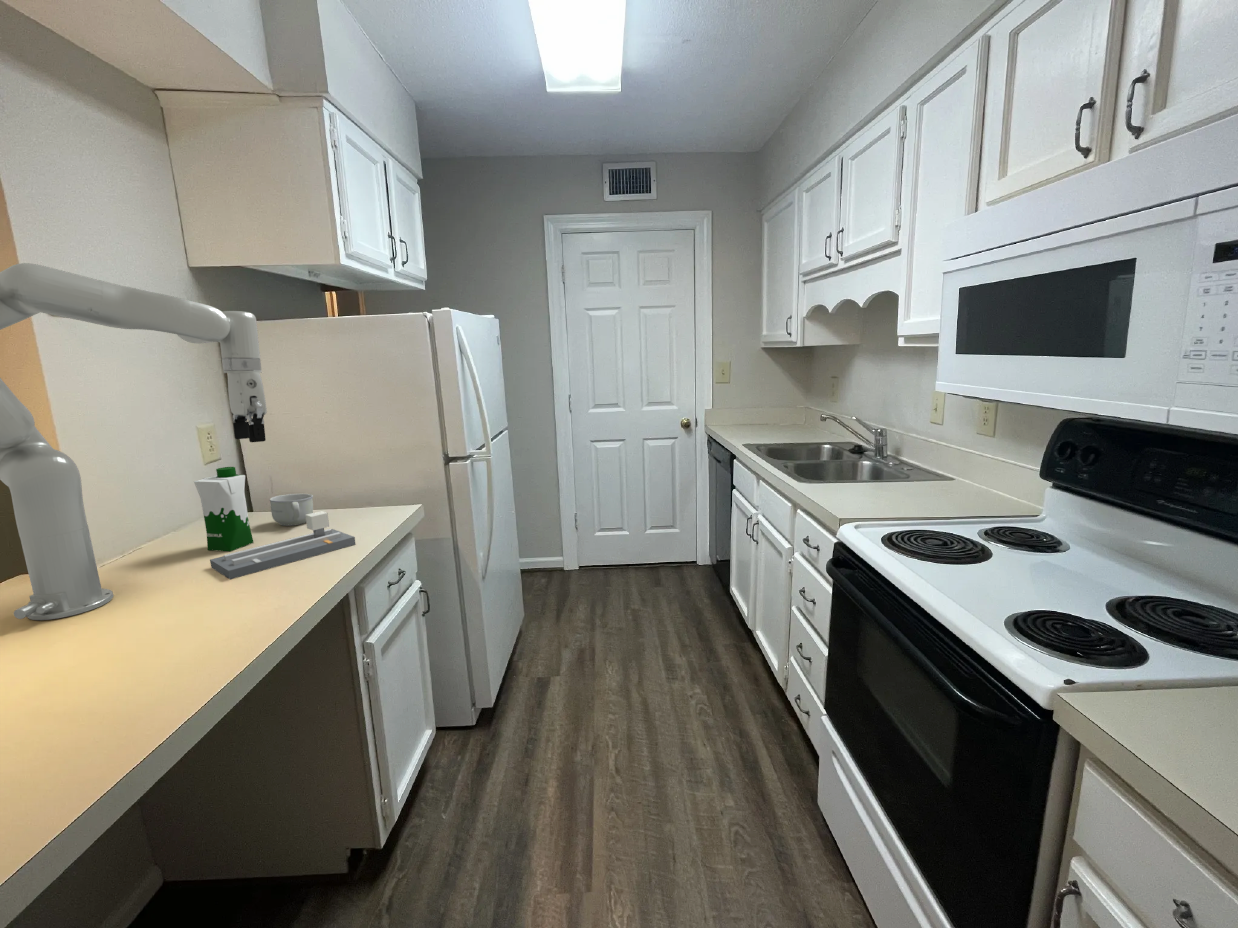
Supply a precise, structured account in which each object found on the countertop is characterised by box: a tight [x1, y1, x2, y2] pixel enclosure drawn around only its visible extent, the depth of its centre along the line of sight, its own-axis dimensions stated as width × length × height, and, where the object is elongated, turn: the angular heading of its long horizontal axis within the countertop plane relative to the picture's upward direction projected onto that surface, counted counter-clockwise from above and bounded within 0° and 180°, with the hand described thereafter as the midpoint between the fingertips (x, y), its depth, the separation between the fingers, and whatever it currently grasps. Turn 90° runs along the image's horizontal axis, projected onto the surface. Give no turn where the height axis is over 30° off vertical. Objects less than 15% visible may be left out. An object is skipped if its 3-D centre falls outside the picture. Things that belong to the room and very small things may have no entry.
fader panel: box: [209, 528, 356, 580], centre depth 141 cm, size 28×12×3 cm, turn 141°
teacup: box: [269, 493, 314, 527], centre depth 167 cm, size 14×11×8 cm
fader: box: [306, 510, 330, 538], centre depth 147 cm, size 4×3×6 cm
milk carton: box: [193, 466, 254, 553], centre depth 148 cm, size 9×9×20 cm
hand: (250, 440), depth 138 cm, fingers open, 9 cm apart
